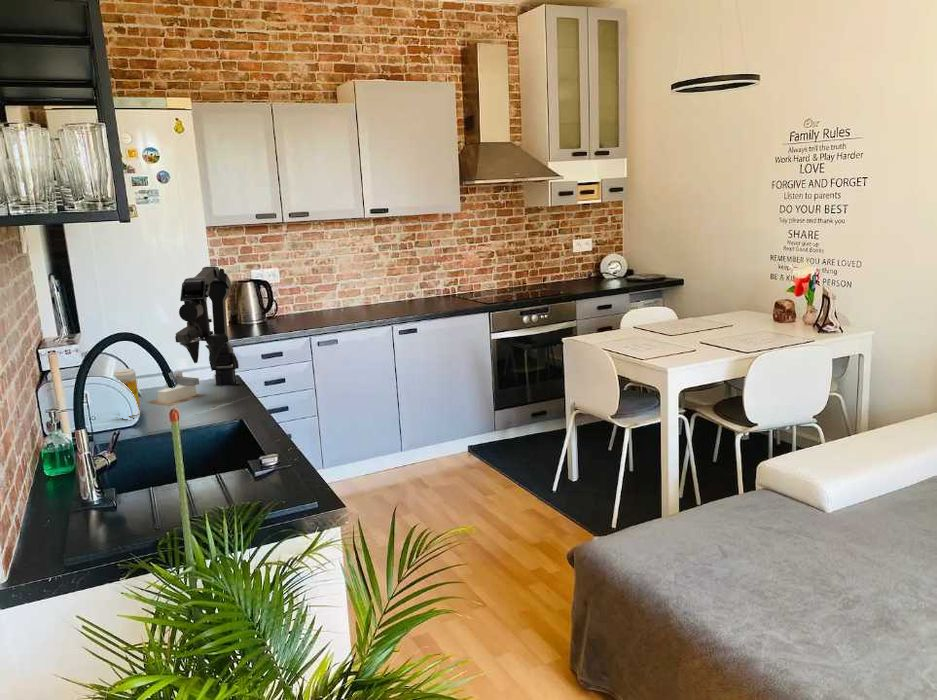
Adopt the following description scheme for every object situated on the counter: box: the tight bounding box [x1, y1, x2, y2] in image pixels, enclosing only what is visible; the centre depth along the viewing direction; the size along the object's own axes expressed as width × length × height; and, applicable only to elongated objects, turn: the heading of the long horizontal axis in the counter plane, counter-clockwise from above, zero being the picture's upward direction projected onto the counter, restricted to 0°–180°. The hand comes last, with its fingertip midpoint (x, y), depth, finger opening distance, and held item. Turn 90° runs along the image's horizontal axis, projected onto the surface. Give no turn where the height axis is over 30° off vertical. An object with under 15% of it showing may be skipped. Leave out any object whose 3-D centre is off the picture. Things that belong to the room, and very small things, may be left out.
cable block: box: [156, 384, 197, 404], centre depth 247 cm, size 12×4×4 cm, turn 151°
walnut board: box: [145, 393, 206, 407], centre depth 248 cm, size 15×12×1 cm
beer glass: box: [113, 368, 142, 414], centre depth 229 cm, size 6×6×15 cm
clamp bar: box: [174, 376, 200, 386], centre depth 250 cm, size 2×11×2 cm, turn 61°
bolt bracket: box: [165, 371, 184, 389], centre depth 253 cm, size 6×2×7 cm, turn 151°
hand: (204, 363), depth 243 cm, fingers open, 8 cm apart
